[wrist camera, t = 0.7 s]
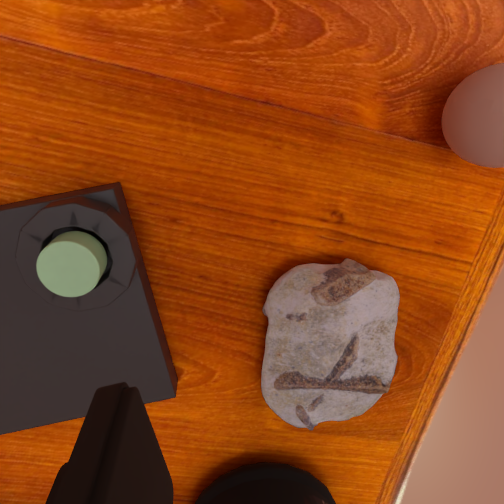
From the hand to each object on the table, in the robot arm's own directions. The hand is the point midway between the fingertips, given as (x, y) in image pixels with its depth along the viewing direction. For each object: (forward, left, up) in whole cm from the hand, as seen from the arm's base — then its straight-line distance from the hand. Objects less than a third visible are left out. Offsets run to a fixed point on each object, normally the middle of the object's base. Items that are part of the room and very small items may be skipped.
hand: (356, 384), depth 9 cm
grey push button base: (+4, -14, -17) cm, 23 cm away
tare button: (0, -10, -14) cm, 18 cm away
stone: (+10, +3, -18) cm, 21 cm away
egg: (-3, +13, -18) cm, 22 cm away
